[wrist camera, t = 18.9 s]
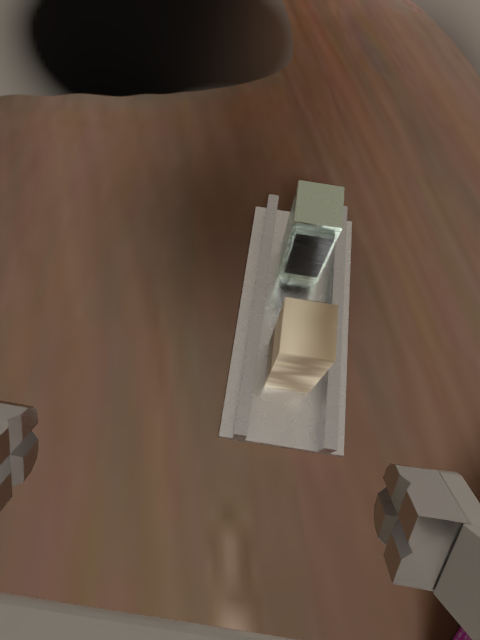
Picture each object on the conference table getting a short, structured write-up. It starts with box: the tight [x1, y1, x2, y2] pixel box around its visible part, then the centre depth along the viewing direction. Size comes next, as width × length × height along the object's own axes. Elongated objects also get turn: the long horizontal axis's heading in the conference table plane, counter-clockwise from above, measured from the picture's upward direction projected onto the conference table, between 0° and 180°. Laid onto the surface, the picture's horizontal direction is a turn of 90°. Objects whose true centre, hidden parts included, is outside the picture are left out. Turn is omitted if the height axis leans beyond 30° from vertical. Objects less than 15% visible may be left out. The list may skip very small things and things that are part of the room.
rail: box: [219, 180, 352, 457], centre depth 41 cm, size 12×28×11 cm, turn 172°
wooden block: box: [264, 297, 338, 393], centre depth 38 cm, size 4×6×10 cm
